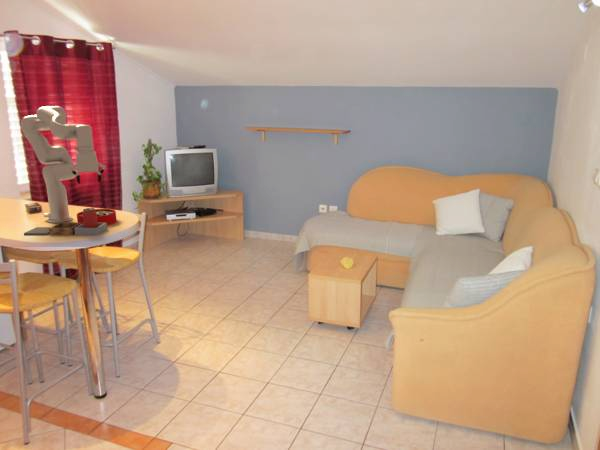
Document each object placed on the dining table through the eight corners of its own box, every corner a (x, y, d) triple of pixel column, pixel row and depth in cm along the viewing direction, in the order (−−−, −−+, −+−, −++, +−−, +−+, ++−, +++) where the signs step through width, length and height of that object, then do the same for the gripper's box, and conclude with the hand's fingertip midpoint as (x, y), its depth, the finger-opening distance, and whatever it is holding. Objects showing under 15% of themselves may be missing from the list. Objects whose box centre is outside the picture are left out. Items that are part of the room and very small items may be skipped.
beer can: (87, 230, 265) (84, 208, 262) (100, 230, 265) (97, 207, 262) (82, 233, 259) (80, 210, 256) (96, 233, 259) (93, 210, 256)
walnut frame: (49, 234, 257) (48, 228, 256) (61, 229, 268) (60, 222, 268) (72, 235, 257) (71, 228, 256) (82, 229, 268) (82, 222, 267)
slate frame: (75, 235, 257) (74, 228, 256) (85, 229, 268) (84, 222, 267) (97, 235, 256) (97, 228, 255) (107, 229, 267) (106, 222, 266)
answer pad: (24, 235, 258) (23, 233, 257) (37, 229, 269) (36, 227, 269) (47, 235, 257) (47, 233, 257) (59, 229, 269) (59, 227, 268)
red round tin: (99, 207, 293) (123, 211, 284) (100, 217, 295) (124, 221, 285) (68, 214, 277) (93, 218, 267) (69, 225, 278) (94, 229, 268)
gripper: (66, 151, 255) (70, 185, 259) (103, 149, 260) (106, 183, 264) (68, 149, 262) (72, 182, 266) (104, 148, 267) (107, 180, 271)
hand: (89, 182), depth 265 cm, fingers open, 9 cm apart
